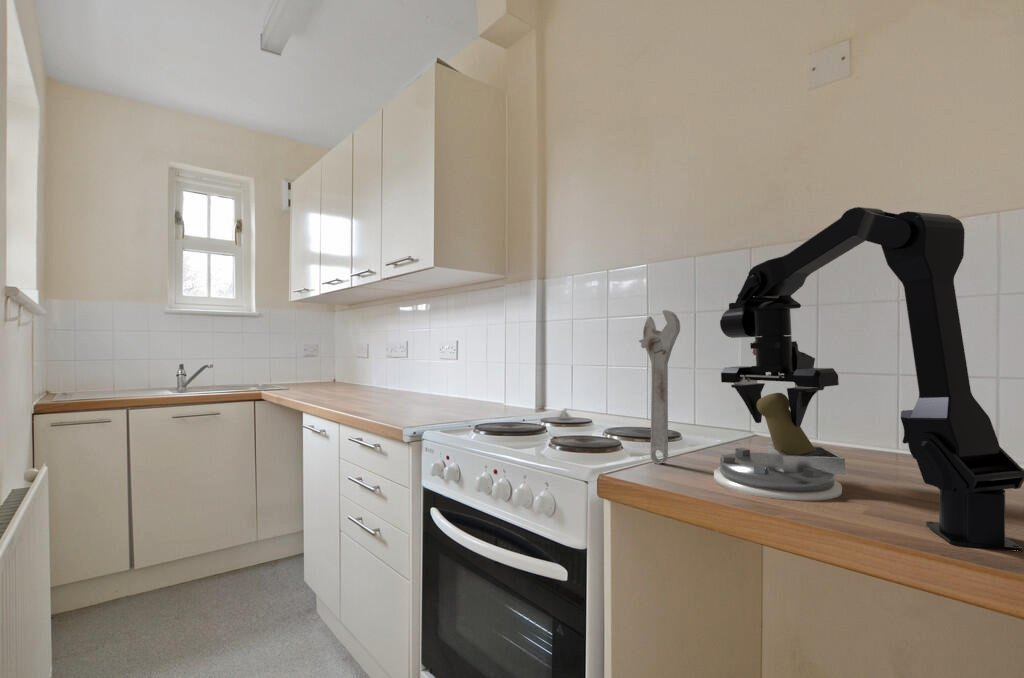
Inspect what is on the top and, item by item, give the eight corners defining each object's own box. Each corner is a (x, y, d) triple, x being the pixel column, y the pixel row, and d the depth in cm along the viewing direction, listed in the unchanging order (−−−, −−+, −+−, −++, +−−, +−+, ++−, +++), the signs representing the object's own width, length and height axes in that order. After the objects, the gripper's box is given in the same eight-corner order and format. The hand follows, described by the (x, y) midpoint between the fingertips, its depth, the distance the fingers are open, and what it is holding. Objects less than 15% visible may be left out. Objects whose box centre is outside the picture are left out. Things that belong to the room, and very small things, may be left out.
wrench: (637, 460, 100) (638, 310, 100) (642, 458, 102) (642, 311, 102) (675, 467, 95) (676, 309, 95) (680, 465, 96) (680, 309, 96)
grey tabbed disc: (731, 487, 78) (731, 458, 78) (712, 461, 95) (712, 437, 95) (856, 495, 74) (856, 465, 74) (814, 466, 91) (814, 441, 91)
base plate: (860, 508, 72) (860, 499, 72) (718, 495, 78) (718, 487, 78) (822, 473, 91) (822, 466, 91) (710, 465, 96) (710, 458, 96)
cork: (773, 463, 87) (746, 404, 91) (806, 454, 87) (778, 395, 91) (787, 458, 82) (758, 395, 86) (822, 448, 82) (792, 385, 86)
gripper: (856, 333, 83) (860, 427, 83) (756, 337, 100) (760, 415, 100) (814, 334, 78) (819, 434, 78) (717, 338, 95) (720, 421, 95)
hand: (777, 425), depth 88 cm, fingers open, 7 cm apart
